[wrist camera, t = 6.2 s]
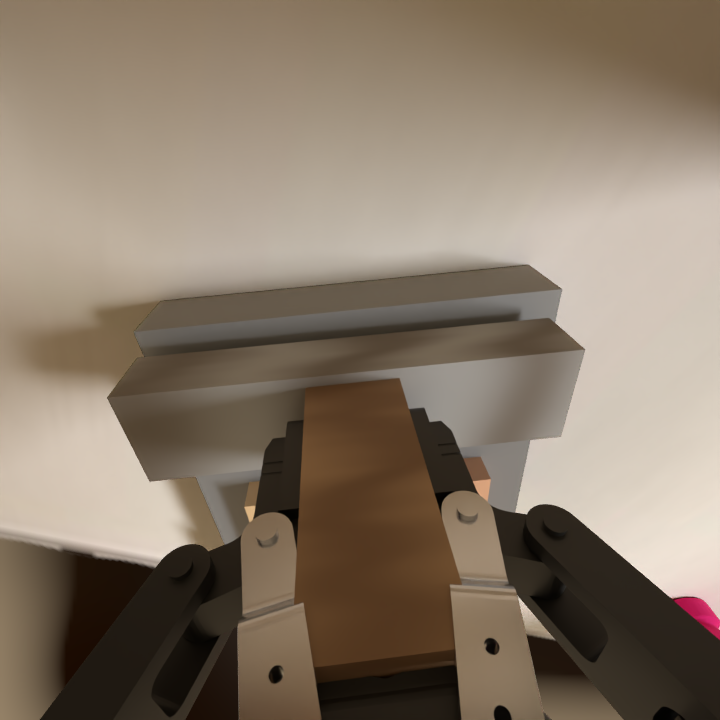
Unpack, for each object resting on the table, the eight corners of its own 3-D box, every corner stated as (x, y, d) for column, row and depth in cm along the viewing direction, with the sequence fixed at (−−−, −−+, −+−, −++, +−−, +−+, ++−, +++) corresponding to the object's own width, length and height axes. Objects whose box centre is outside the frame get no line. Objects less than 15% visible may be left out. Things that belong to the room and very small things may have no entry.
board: (529, 265, 18) (562, 289, 16) (492, 493, 27) (510, 533, 24) (160, 301, 18) (133, 331, 15) (242, 522, 26) (233, 565, 24)
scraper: (549, 317, 16) (854, 586, 7) (531, 398, 18) (746, 683, 9) (137, 357, 15) (-132, 713, 6) (171, 435, 17) (8, 784, 8)
